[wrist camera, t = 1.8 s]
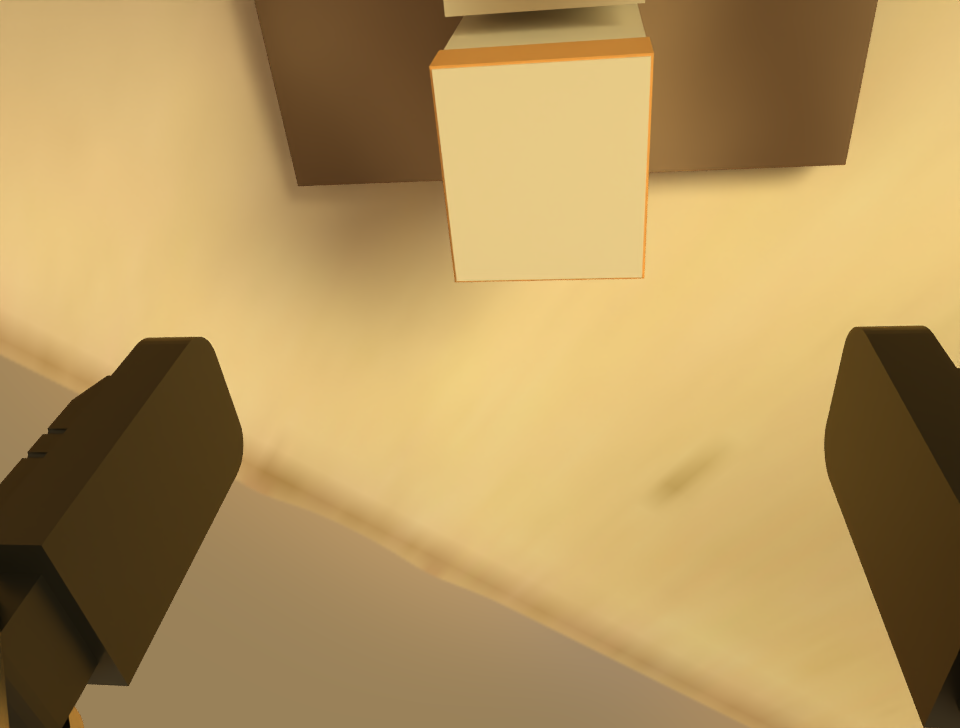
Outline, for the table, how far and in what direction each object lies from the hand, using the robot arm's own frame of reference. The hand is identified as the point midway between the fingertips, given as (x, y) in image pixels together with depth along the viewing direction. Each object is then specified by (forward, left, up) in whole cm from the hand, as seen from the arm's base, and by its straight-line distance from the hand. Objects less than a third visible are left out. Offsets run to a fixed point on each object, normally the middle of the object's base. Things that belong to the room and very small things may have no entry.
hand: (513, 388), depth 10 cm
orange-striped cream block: (0, 0, -14) cm, 14 cm away
